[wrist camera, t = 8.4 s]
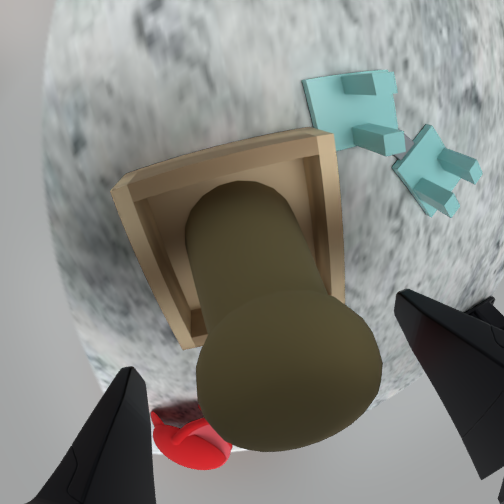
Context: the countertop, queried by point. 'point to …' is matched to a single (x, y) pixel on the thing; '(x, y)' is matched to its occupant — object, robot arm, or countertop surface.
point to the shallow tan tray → (207, 178)
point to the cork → (272, 327)
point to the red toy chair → (191, 444)
